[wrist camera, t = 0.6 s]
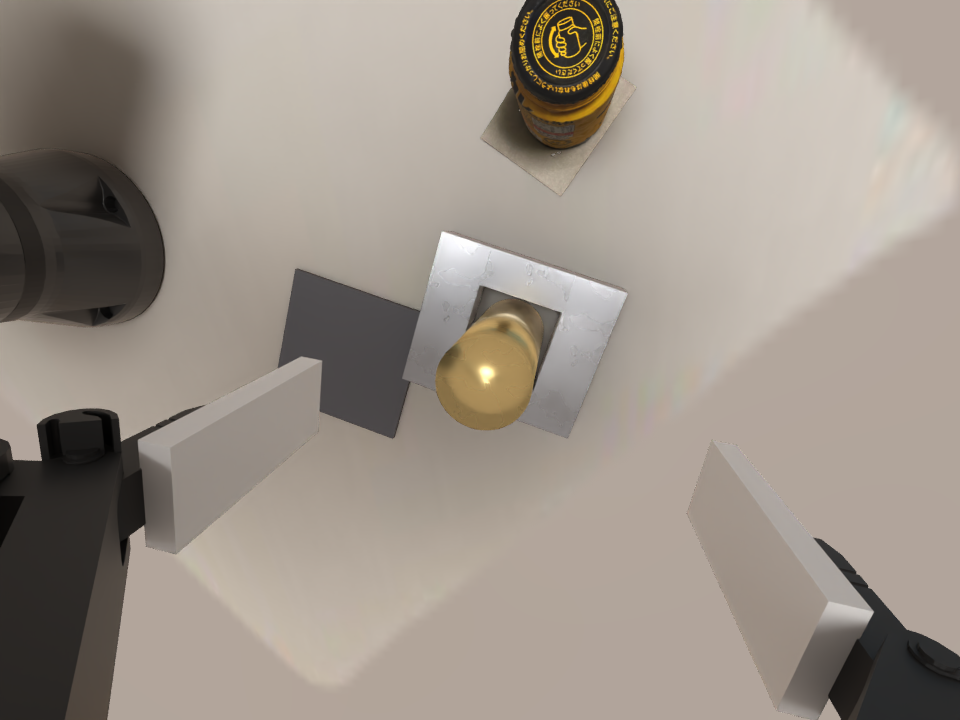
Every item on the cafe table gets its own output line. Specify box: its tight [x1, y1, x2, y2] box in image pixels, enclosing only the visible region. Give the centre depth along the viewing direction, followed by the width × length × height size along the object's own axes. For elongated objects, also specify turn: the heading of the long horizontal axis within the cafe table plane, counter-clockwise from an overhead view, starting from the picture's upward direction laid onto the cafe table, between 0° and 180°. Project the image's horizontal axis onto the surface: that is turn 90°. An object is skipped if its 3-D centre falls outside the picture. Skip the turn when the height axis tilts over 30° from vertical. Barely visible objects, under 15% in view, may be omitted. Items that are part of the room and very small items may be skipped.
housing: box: [402, 231, 628, 438], centre depth 36 cm, size 14×12×3 cm
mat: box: [278, 269, 420, 439], centre depth 41 cm, size 12×12×1 cm
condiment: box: [481, 0, 636, 196], centre depth 27 cm, size 7×8×12 cm
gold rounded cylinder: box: [435, 299, 544, 430], centre depth 31 cm, size 5×5×14 cm
